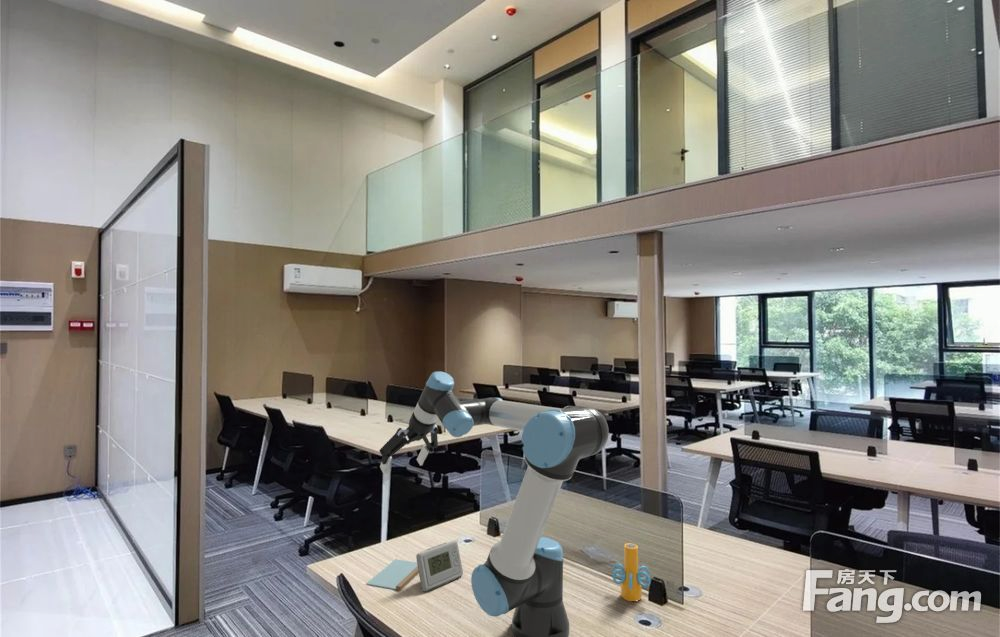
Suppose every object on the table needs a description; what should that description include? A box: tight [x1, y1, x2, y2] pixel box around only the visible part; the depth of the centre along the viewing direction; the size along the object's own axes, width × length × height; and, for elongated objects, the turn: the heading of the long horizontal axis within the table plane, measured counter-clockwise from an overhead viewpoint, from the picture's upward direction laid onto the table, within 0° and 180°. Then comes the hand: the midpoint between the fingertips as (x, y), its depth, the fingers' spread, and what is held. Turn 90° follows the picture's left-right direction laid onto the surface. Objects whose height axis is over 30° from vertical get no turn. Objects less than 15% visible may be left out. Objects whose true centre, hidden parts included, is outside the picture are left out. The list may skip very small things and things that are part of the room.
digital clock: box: [416, 539, 464, 592], centre depth 155 cm, size 16×9×11 cm, turn 123°
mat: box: [366, 558, 419, 591], centre depth 159 cm, size 12×18×1 cm, turn 162°
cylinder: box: [612, 542, 652, 602], centre depth 146 cm, size 12×10×15 cm
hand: (401, 466), depth 156 cm, fingers open, 13 cm apart
